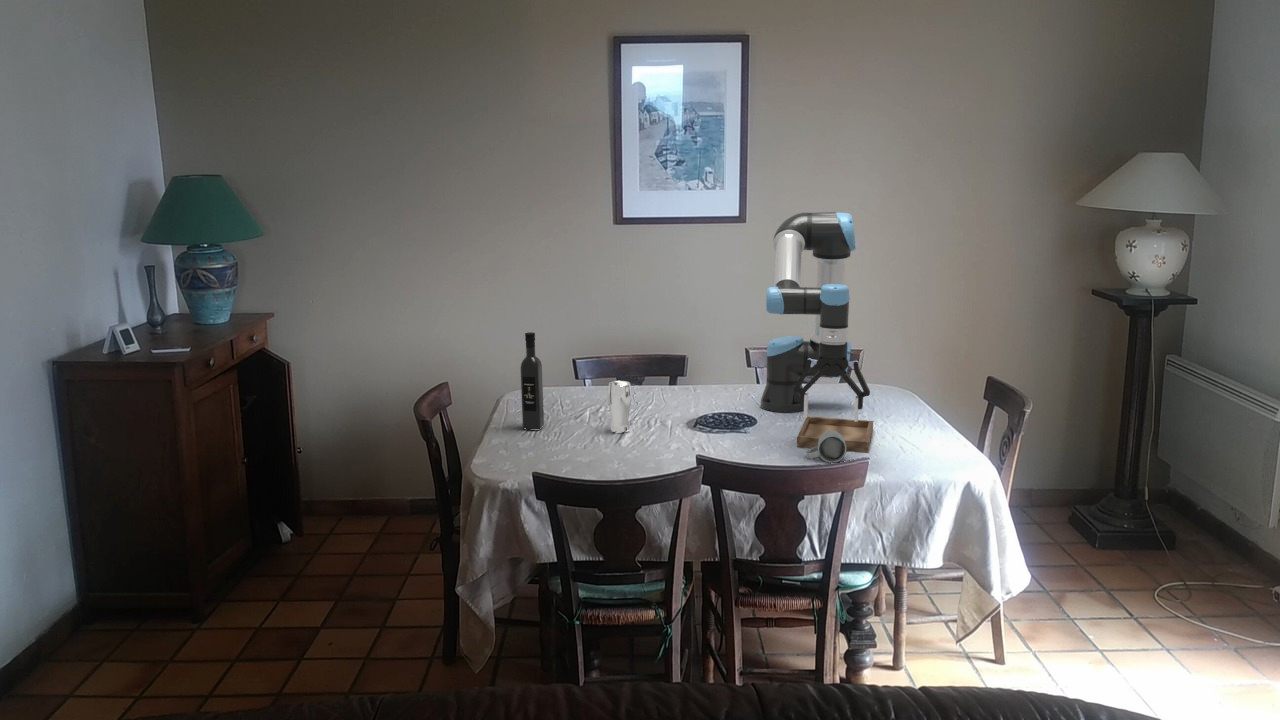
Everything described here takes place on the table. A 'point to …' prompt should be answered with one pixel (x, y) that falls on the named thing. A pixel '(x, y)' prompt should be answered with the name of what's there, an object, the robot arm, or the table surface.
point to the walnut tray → (852, 432)
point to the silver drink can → (619, 405)
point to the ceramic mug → (829, 447)
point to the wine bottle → (531, 386)
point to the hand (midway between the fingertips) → (830, 418)
